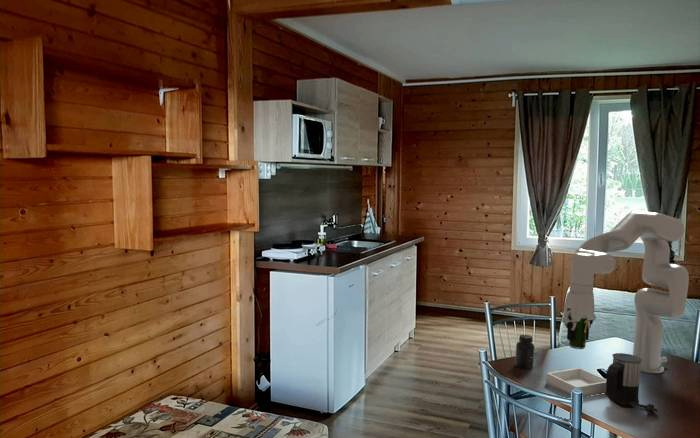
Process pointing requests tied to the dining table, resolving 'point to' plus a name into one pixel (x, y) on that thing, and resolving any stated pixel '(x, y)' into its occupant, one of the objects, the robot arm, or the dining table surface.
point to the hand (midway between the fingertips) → (577, 339)
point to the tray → (576, 381)
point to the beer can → (580, 334)
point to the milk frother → (625, 380)
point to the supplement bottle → (524, 352)
